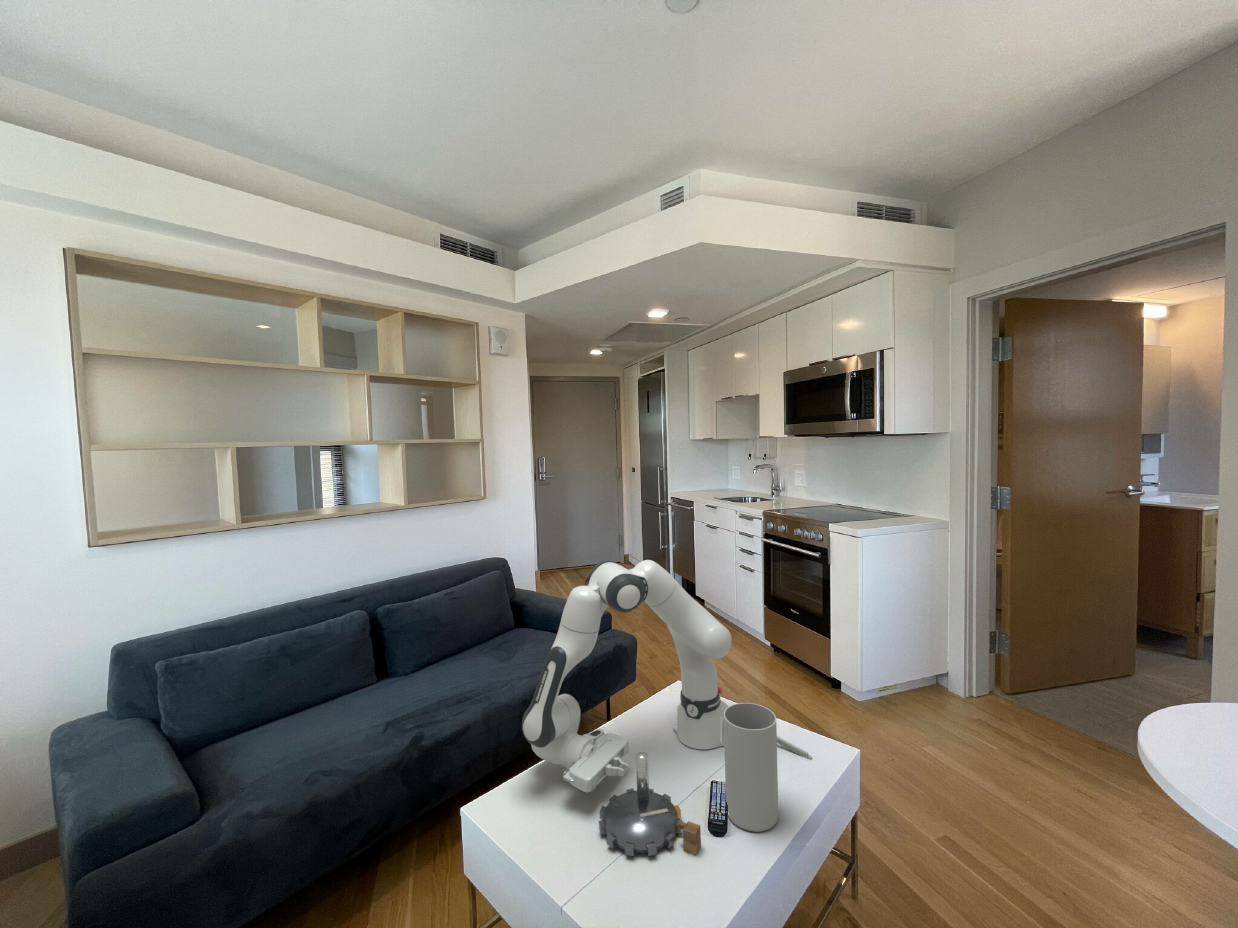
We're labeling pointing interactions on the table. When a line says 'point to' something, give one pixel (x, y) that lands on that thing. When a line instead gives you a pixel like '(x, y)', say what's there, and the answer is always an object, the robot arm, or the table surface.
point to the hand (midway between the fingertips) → (625, 770)
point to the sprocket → (640, 817)
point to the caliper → (793, 748)
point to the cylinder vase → (751, 766)
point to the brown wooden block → (690, 837)
